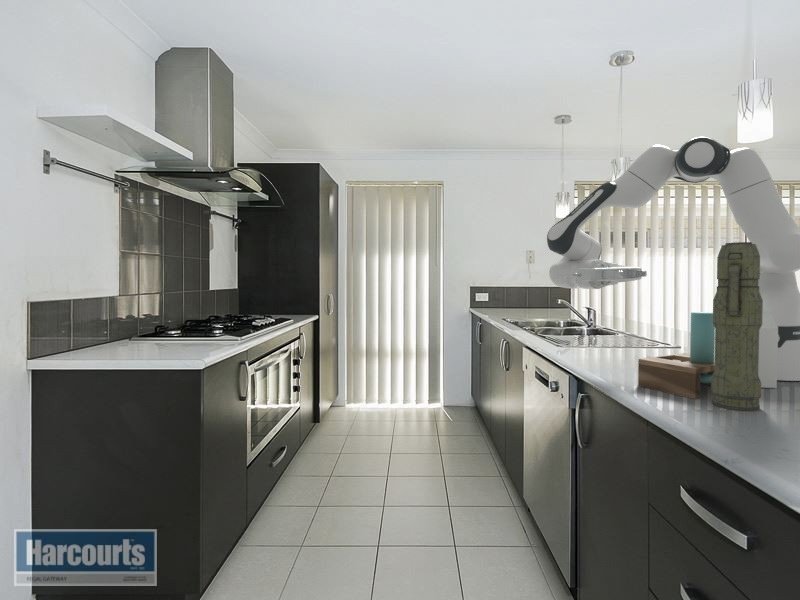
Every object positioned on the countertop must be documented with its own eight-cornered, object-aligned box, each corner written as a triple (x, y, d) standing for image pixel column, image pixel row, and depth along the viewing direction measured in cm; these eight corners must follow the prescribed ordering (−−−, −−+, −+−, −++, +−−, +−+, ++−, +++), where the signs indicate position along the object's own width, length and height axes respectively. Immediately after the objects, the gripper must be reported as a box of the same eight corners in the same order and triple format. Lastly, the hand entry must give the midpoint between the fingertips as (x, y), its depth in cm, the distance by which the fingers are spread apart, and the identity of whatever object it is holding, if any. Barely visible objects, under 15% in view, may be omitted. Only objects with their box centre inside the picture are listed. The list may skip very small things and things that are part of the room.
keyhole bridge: (684, 378, 134) (684, 353, 134) (742, 390, 120) (743, 361, 120) (638, 386, 126) (638, 358, 126) (695, 399, 113) (695, 368, 112)
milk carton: (776, 388, 121) (778, 311, 120) (744, 387, 123) (746, 311, 122) (761, 382, 128) (763, 309, 127) (731, 381, 130) (732, 309, 129)
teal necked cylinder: (691, 377, 124) (692, 311, 124) (717, 380, 120) (719, 312, 120) (685, 380, 120) (686, 313, 120) (712, 383, 117) (713, 314, 116)
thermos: (709, 408, 104) (712, 242, 103) (712, 397, 114) (714, 245, 112) (761, 415, 100) (765, 240, 98) (759, 402, 109) (763, 243, 108)
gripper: (567, 264, 144) (606, 262, 132) (617, 263, 153) (657, 262, 141) (567, 285, 145) (606, 286, 132) (617, 283, 154) (657, 284, 141)
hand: (633, 273), depth 137 cm, fingers open, 8 cm apart
